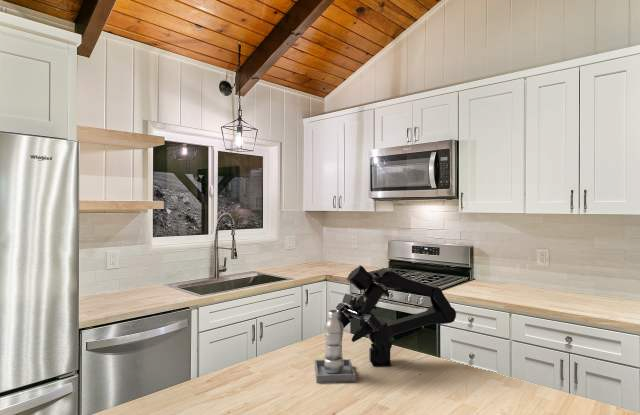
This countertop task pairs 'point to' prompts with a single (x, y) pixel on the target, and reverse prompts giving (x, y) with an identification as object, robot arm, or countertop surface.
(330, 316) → the plastic bottle
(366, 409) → the countertop surface
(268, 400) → the countertop surface
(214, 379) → the countertop surface
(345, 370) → the gray tray
